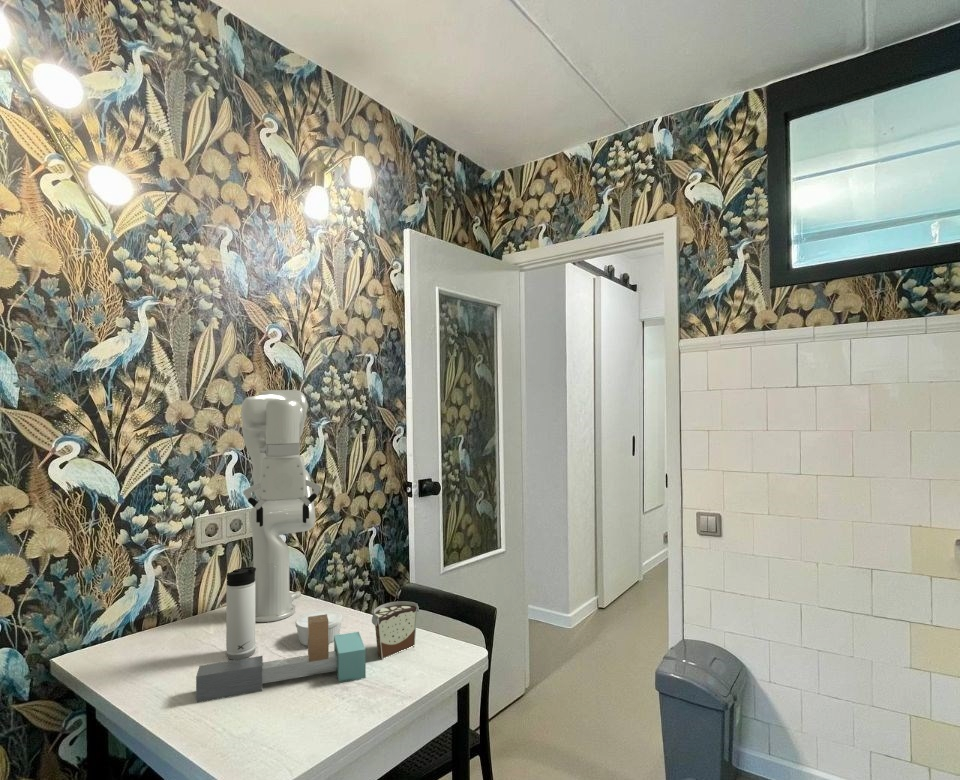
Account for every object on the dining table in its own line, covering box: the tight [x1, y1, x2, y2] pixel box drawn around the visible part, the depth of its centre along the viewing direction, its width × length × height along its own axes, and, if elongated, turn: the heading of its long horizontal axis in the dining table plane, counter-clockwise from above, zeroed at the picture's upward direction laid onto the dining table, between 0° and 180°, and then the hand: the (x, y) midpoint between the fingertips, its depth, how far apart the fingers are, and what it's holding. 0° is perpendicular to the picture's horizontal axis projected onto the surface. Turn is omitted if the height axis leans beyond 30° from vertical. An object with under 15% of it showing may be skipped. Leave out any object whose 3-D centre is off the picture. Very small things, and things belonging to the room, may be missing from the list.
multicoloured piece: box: [262, 614, 338, 685], centre depth 117 cm, size 19×4×11 cm, turn 110°
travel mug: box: [225, 566, 256, 661], centre depth 129 cm, size 6×7×20 cm
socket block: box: [333, 631, 367, 683], centre depth 120 cm, size 6×10×6 cm, turn 20°
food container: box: [371, 600, 420, 660], centre depth 131 cm, size 12×6×10 cm, turn 135°
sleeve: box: [195, 655, 264, 703], centre depth 112 cm, size 12×5×5 cm, turn 110°
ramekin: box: [295, 609, 343, 647], centre depth 137 cm, size 11×11×5 cm
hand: (283, 523), depth 130 cm, fingers open, 9 cm apart
